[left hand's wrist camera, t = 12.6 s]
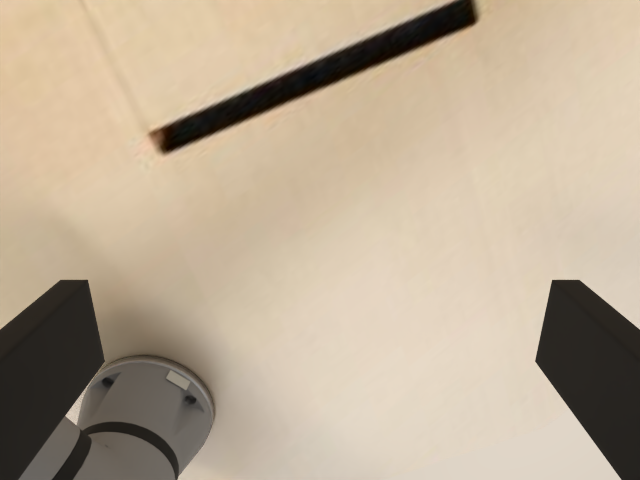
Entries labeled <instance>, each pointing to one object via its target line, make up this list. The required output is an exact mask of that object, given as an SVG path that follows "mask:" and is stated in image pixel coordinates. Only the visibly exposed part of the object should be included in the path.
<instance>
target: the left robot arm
mask: <svg viewBox="0 0 640 480" xmlns="http://www.w3.org/2000/svg"><path fill="white" fill-rule="evenodd" d="M104 362H105V360H104V355H103V351H102V346H101V341H100V336H99V331H98V327H97V322H96V317H95V312H94V307H93V303H92V298H91V293H90V288H89V283H88V280H60V281H59V282H58V283H56V284H55V285H54V286H53V287H52V288H50V289H49V290H48V291H47V292H45V293H44V294H43V295H42V296H41V297H39V298H38V299H37V300H36V301H35V302H33V303H32V304H31V305H30V306H28V307H27V308H26V309H25V310H24V311H22V312H21V313H20V314H19V315H18V316H16V317H15V318H14V319H13V320H11V321H10V322H9V323H8V324H7V325H5V326H4V327H3V328H2V329H1V330H0V480H177V479H178V476H179V475H180V474H181V473H182V471H183V470H184V469H185V468H186V466H187V465H188V464H189V463H190V461H191V460H192V459H193V458H194V456H195V455H196V454H197V453H198V451H199V450H200V449H201V447H202V446H203V444H204V443H205V441H206V439H207V437H208V435H209V433H210V429H211V426H212V423H213V419H214V405H213V401H212V398H211V395H210V393H209V391H208V389H207V388H206V386H205V385H204V383H203V382H202V381H201V380H200V379H199V378H198V377H197V376H196V375H195V374H194V373H192V372H191V371H190V370H188V369H187V368H185V367H184V366H182V365H180V364H178V363H176V362H173V361H171V360H168V359H164V358H160V357H155V356H132V357H126V358H122V359H120V360H117V361H115V362H112V363H111V364H109V365H107V366H106V367H105V368H103V369H102V370H101V371H100V372H99V373H98V374H97V376H96V377H95V378H94V380H93V381H92V382H91V384H90V385H89V387H88V389H87V391H86V393H85V395H84V398H83V400H82V404H81V409H80V413H79V418H78V422H77V426H76V425H75V424H74V423H73V422H71V421H70V420H69V419H68V418H67V417H65V415H66V414H67V412H68V411H69V410H70V408H71V407H72V406H73V404H74V403H75V401H76V400H77V399H78V397H79V396H80V395H81V393H82V392H83V390H84V389H85V388H86V386H87V385H88V384H89V382H90V381H91V380H92V378H93V377H94V375H95V374H96V373H97V371H98V370H99V369H100V367H101V366H102V364H103V363H104ZM535 362H536V363H537V364H538V366H539V367H540V369H541V370H542V371H543V373H544V374H545V375H546V377H547V378H548V380H549V381H550V382H551V384H552V385H553V386H554V388H555V389H556V390H557V392H558V393H559V395H560V396H561V397H562V399H563V400H564V401H565V403H566V404H567V406H568V407H569V408H570V410H571V411H572V412H573V414H574V415H575V416H576V418H577V419H578V421H579V422H580V423H581V425H582V426H583V427H584V429H585V430H586V432H587V433H588V434H589V436H590V437H591V438H592V440H593V441H594V443H595V444H596V445H597V447H598V448H599V449H600V451H601V452H602V453H603V455H604V456H605V458H606V459H607V460H608V462H609V463H610V464H611V466H612V467H613V469H614V470H615V471H616V473H617V474H618V475H619V477H620V478H621V480H640V330H639V329H638V328H637V327H636V326H635V325H633V324H632V323H631V322H630V321H629V320H627V319H626V318H625V317H624V316H622V315H621V314H620V313H619V312H618V311H616V310H615V309H614V308H613V307H612V306H610V305H609V304H608V303H607V302H605V301H604V300H603V299H602V298H601V297H599V296H598V295H597V294H596V293H595V292H593V291H592V290H591V289H590V288H588V287H587V286H586V285H585V284H584V283H582V282H581V281H580V280H552V283H551V288H550V293H549V298H548V303H547V307H546V312H545V317H544V322H543V327H542V331H541V336H540V341H539V346H538V351H537V355H536V360H535Z"/></svg>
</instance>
